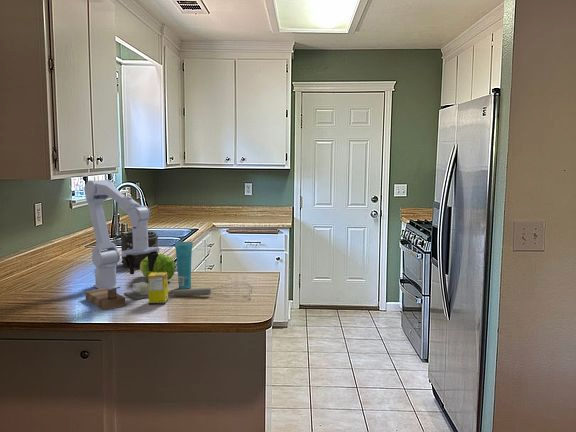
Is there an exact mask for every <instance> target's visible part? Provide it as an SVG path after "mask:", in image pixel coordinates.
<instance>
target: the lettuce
mask: <svg viewBox="0 0 576 432" xmlns="http://www.w3.org/2000/svg"><path fill="white" fill-rule="evenodd" d="M139 269H140V272H141V274H142V275H143V276H144V277H145V278H146V279H147V280H148V275H149V274H150V273H151V271H149V269H148V257H146V258H145V259H144V260H142V261H141V264H140V268H139ZM175 271H176V263H175V260H174V259H173V258H172V257H171V256H167V255H166V254H163V253H158V257H157V259H156V261H155V263H154V267H153V271H152V272H167V278H168V281H169V280H170V279H172V278H173V276H175Z"/></svg>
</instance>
